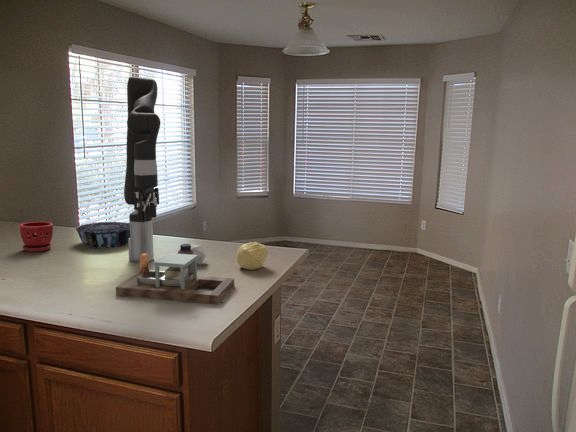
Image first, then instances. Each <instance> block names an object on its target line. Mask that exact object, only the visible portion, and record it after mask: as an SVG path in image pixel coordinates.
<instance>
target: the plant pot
mask: <svg viewBox="0 0 576 432" xmlns="http://www.w3.org/2000/svg"><path fill="white" fill-rule="evenodd" d="M19 232H20V237H21V241H22V242H23V246H22V249H23V250H24V251H26V252H29V253H33V252H34V253H35V252H44V251H47V250H49V249H50V248H51V247H52V242H51V241H52V239H53V233H54V224H53V223H52V222H49V221H48V222H47V221H31V222H25V223H21V224H20V225H19Z"/></svg>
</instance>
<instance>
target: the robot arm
mask: <svg viewBox="0 0 576 432" xmlns="http://www.w3.org/2000/svg"><path fill="white" fill-rule="evenodd" d="M126 84H127V85H126V86H127V87H126V94H127V95H126V97H127V98H126V99H127V101H126V102H127V121H126V126H127V129H126V164H125V165H126V169H125V178H124V185H123V186H124V187H123V193H124V194H123V196H124V201H125V203H126V204H127V205H129V206H132V205H133V210H134V211H132V212H130V213H129V217H128V218H129V222H128V223H130V238H129V239H128V244H127V245H128V260H129V261H132V262H134V263H140V256H139V255H140V254H143V253H147V254H148V257H149V262H150V261H153V260H154V259H155V258H154V257H155V256H154V233H153V231H154V229H153V219H155V218H157V207H158V205H159V204H160V193H159V192H160V191H159V187H158V185H159V183H158V182H159V180H158V178H159V177H158V164H157V141H158V135H159V133H160V128H161V119H160V116H159V115H158V114H156V113H155V106H156V104H157V103H156V102H157V98H158V83H157V81H156V80H155V79H154V78H149V77H141V76H140V77H138V76H129V77H128V80H127V83H126Z"/></svg>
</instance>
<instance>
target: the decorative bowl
mask: <svg viewBox="0 0 576 432" xmlns="http://www.w3.org/2000/svg"><path fill="white" fill-rule="evenodd" d="M74 229H75V231H76V232H77V235H78V236H79V239H80V241H81V243H82V244H83V245H85V246H87V247H90V248H93V249H112V248H113V249H114V248H119V247H124V246H126V244H127V245H128V239H129V238H130V222H120V221H101V222H92V223H85V224H81V225H77V226H76V227H75V228H74Z"/></svg>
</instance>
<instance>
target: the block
mask: <svg viewBox="0 0 576 432" xmlns="http://www.w3.org/2000/svg"><path fill="white" fill-rule="evenodd" d="M164 271H165V279H174V280H181V270H180V268H179V267H170V268H169V267H168V268H167V269H165V270H164ZM187 276H188V267H185V278H186V277H187Z"/></svg>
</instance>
